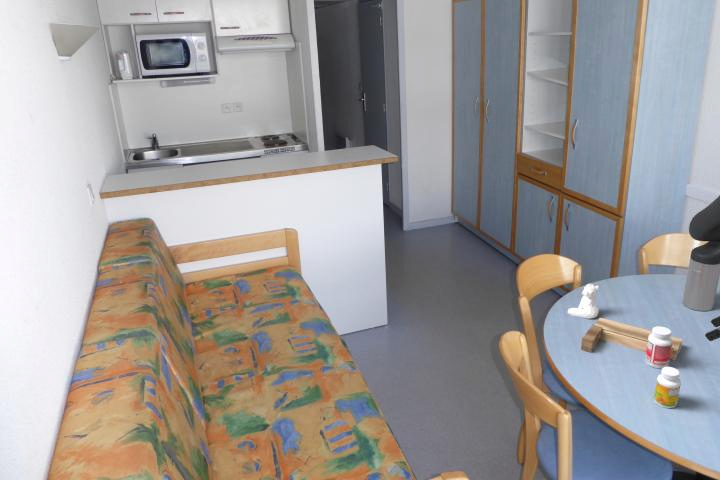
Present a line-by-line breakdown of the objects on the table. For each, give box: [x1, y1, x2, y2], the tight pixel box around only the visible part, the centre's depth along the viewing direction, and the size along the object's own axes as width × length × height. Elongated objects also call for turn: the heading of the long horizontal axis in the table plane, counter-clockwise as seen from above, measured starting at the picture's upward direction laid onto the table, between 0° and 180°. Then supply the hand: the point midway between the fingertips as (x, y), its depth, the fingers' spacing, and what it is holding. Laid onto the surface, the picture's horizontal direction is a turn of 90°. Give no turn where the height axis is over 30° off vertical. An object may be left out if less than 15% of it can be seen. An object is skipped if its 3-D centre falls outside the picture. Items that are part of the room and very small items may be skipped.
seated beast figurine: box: [567, 283, 600, 320], centre depth 186 cm, size 10×9×12 cm
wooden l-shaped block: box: [580, 317, 683, 361], centre depth 167 cm, size 18×24×4 cm
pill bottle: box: [644, 325, 672, 370], centre depth 158 cm, size 6×6×11 cm
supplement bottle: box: [653, 366, 682, 409], centre depth 143 cm, size 5×5×10 cm
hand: (710, 330), depth 148 cm, fingers open, 8 cm apart
